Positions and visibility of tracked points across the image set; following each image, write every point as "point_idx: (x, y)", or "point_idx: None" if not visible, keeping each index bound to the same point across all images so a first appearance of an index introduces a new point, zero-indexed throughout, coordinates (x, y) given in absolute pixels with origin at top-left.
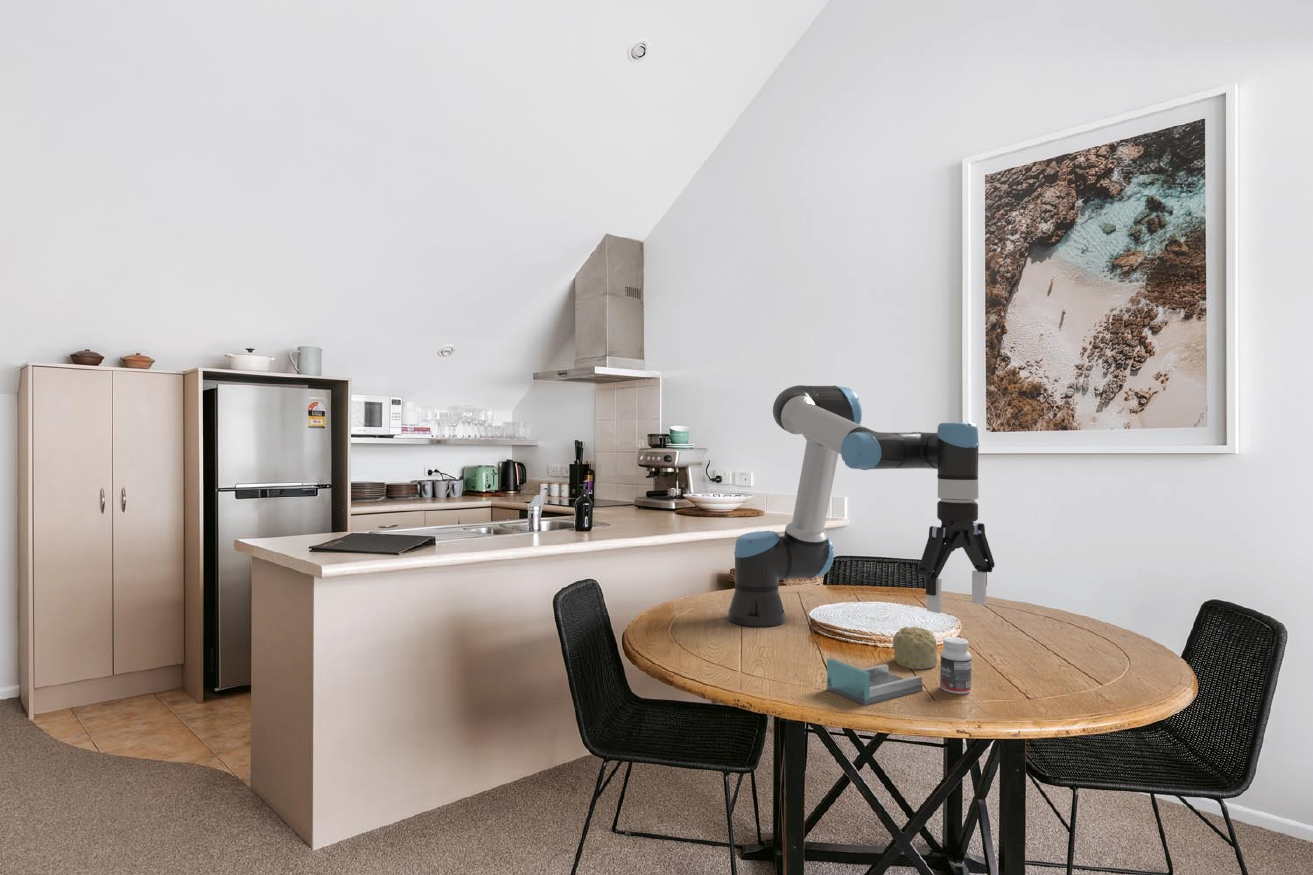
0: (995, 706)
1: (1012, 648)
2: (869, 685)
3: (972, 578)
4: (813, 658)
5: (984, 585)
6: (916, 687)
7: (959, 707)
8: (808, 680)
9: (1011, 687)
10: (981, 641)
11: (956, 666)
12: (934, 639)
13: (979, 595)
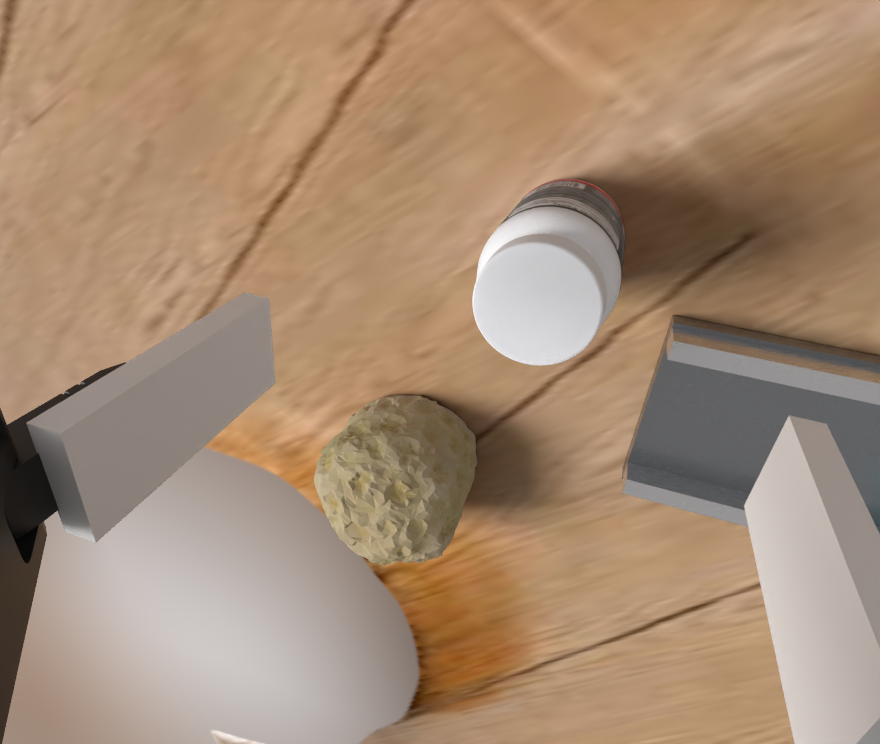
0: (643, 7)
1: (52, 307)
2: None
3: (152, 488)
4: (624, 659)
5: (155, 363)
6: (712, 329)
7: (779, 108)
8: None
9: (366, 103)
10: None
11: (613, 235)
12: (346, 451)
13: (232, 358)
